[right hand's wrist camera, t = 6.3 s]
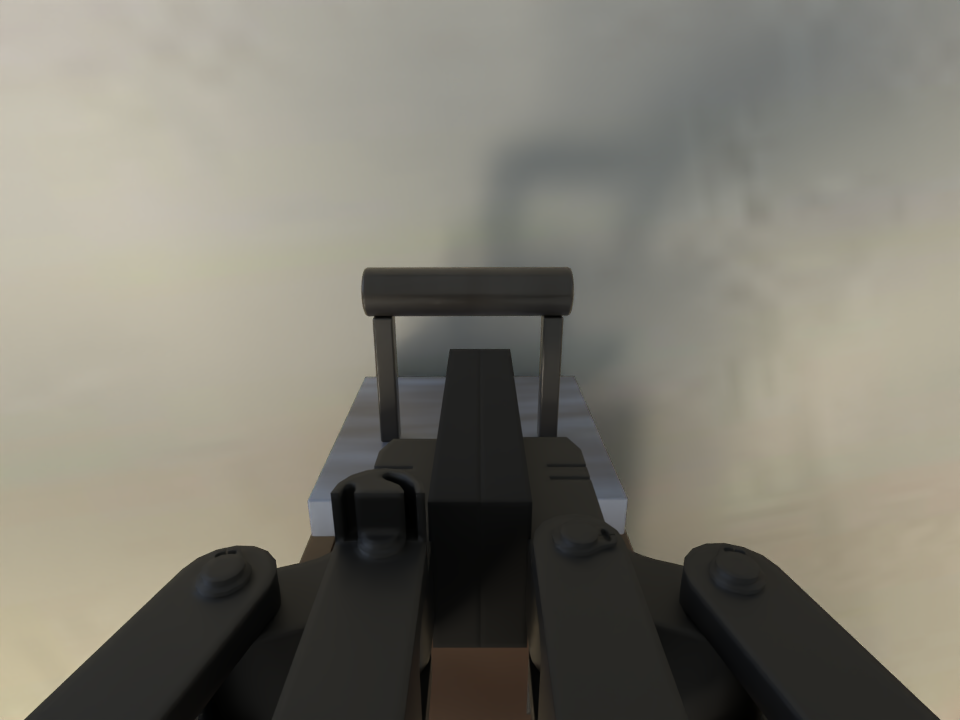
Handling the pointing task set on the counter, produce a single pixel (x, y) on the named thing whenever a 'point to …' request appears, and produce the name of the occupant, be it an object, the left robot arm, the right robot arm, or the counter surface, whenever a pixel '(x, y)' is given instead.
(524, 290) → the drawer
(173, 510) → the counter surface
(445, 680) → the cabinet
